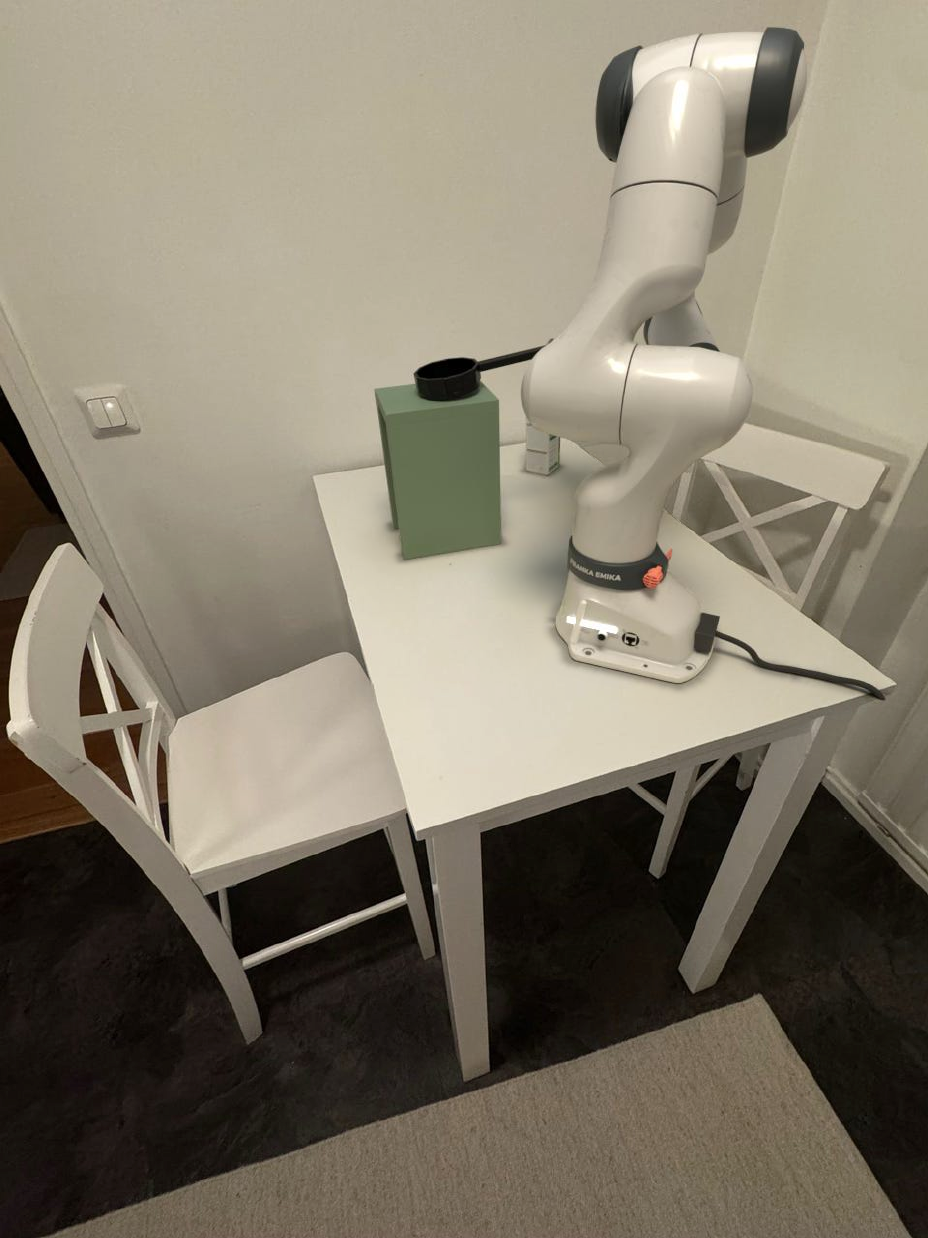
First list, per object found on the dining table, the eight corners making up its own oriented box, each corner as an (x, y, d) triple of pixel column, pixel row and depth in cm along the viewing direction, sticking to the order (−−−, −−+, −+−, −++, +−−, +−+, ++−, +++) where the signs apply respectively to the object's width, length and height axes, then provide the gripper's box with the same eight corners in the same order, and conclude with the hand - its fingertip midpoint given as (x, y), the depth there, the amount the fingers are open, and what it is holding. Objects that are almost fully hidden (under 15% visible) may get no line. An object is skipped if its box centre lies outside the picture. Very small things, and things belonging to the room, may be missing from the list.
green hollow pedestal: (481, 510, 121) (476, 376, 106) (501, 543, 110) (499, 399, 95) (392, 524, 118) (374, 388, 103) (404, 560, 107) (385, 414, 92)
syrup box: (548, 475, 133) (550, 409, 124) (524, 470, 135) (525, 405, 127) (559, 466, 136) (562, 401, 128) (536, 461, 139) (538, 397, 130)
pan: (559, 351, 105) (558, 331, 103) (583, 366, 97) (582, 345, 95) (413, 386, 102) (409, 367, 100) (424, 405, 94) (420, 384, 92)
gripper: (600, 347, 112) (540, 313, 105) (654, 377, 96) (587, 339, 89) (582, 380, 114) (522, 349, 108) (632, 414, 98) (565, 379, 92)
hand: (552, 344), depth 99 cm, fingers closed on pan, 2 cm apart
